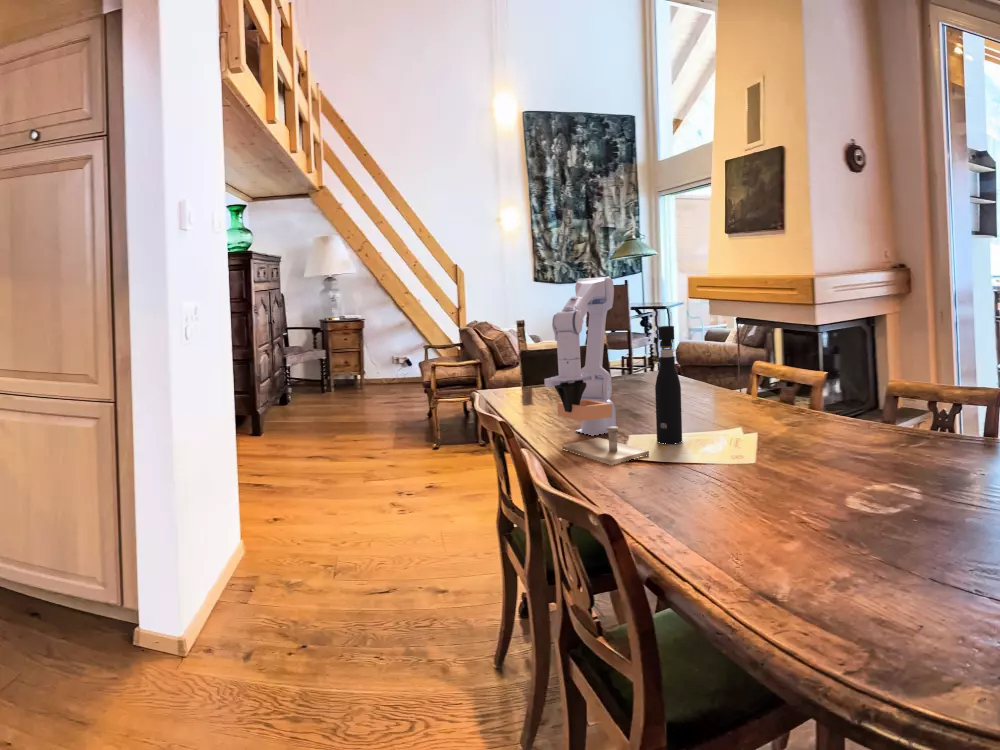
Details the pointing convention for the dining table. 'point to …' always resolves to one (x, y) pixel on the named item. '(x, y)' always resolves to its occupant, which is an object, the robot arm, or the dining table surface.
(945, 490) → the dining table surface
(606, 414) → the pink square frame
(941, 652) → the dining table surface
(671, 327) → the black water bottle
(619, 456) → the thin beige base plate
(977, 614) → the dining table surface
